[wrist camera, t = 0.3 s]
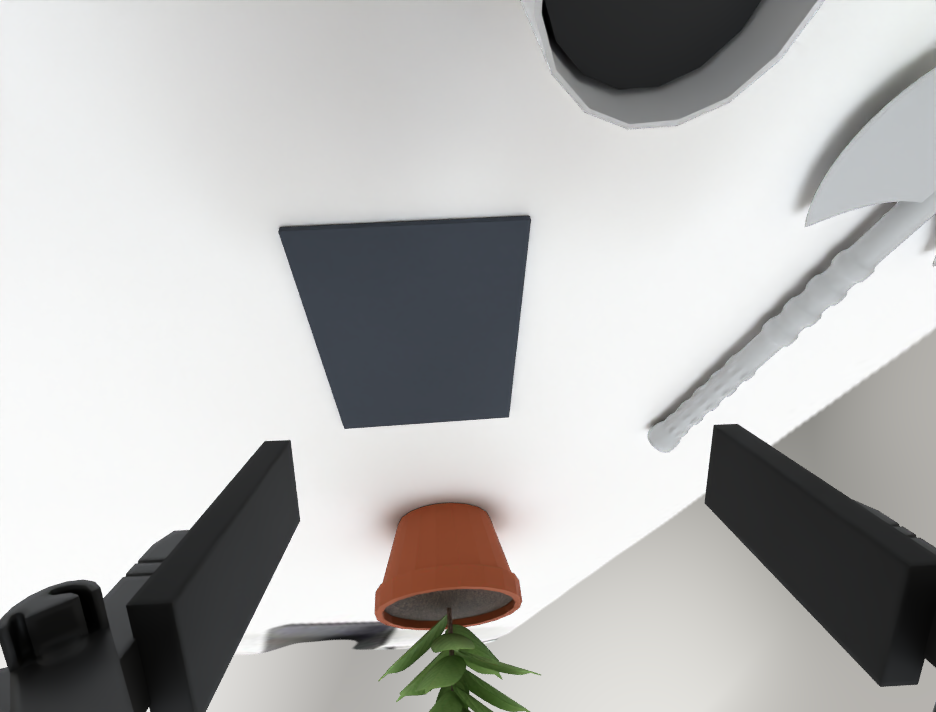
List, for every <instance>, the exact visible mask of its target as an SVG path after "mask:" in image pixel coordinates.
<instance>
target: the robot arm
mask: <svg viewBox="0 0 936 712" xmlns="http://www.w3.org/2000/svg"><path fill="white" fill-rule="evenodd" d="M705 504H706V505H707V506H708V507H709V508H710V509H711V510H712V511H713V512H714V513H715V514H716V515H717V516H718V517H719V519H720V520H721V521H722V522H723V523H724V524H725V525H726V526H727V527H728V528H729V529H730V530H731V531H732V532H733V533H734V534H735V535H736V536H737V537H738V538H739V539H740V541H741V542H742V543H743V544H744V545H745V546H746V547H747V548H748V549H749V550H750V551H751V552H752V553H753V554H754V555H755V556H756V557H757V558H758V559H759V560H760V561H761V563H762V564H763V565H764V566H765V567H766V568H767V569H768V570H769V571H770V572H771V573H772V574H773V575H774V576H775V577H776V578H777V579H778V580H779V581H780V582H781V583H782V584H783V586H784V587H785V588H786V589H787V590H788V591H789V592H790V593H791V594H792V595H793V596H794V597H795V598H796V599H797V600H798V601H799V602H800V603H801V604H802V605H803V606H804V607H805V608H806V609H807V611H808V612H810V614H811V615H812V616H813V617H814V618H815V619H816V620H817V621H818V622H819V623H820V624H821V625H822V626H823V627H824V628H825V629H826V630H827V631H828V633H829V634H830V635H831V636H832V637H833V638H834V639H835V640H836V641H837V642H838V643H839V644H840V645H841V646H842V647H843V648H844V649H845V650H846V651H847V652H848V653H849V654H850V656H851V657H852V658H853V659H854V660H855V661H856V662H857V663H858V664H859V665H860V666H861V667H862V668H863V669H864V670H865V671H866V672H867V673H868V674H869V675H870V676H871V677H872V679H874V681H876V683H877V684H878V685H879V686H880V687H884V686H900V685H917V684H918V682H919V678H920V674H921V670H922V666H923V663H924V659H925V658H926V659H927V660H928V661H929V662H930V663H931V664H932V665H933V666H935V667H936V548H935V547H934V546H932V545H931V544H929V543H928V542H926V541H925V540H923V539H921V538H917V537H916V535H915V534H914V533H912V532H911V531H909V530H908V529H906V528H904V527H900V526H899V524H898V523H897V522H895V521H894V520H892V519H890V518H889V517H887V516H886V515H884V514H882V513H881V512H880V511H878V510H876V509H873V508H871V507H869V506H866V505H864V504H862V503H859V502H857V501H855V500H852V499H850V498H849V497H847V496H846V495H844V494H843V493H841V492H840V491H838V490H837V489H835V488H834V487H832V486H831V485H829V484H828V483H826V482H825V481H823V480H822V479H820V478H819V477H817V476H816V475H814V474H813V473H811V472H809V471H808V470H806V469H805V468H803V467H802V466H800V465H799V464H797V463H796V462H794V461H793V460H791V459H789V458H788V457H787V456H785V455H784V454H782V453H781V452H779V451H778V450H776V449H775V448H773V447H772V446H770V445H769V444H767V443H766V442H764V441H762V440H761V439H759V438H758V437H756V436H755V435H753V434H752V433H750V432H749V431H747V430H746V429H744V428H743V427H741V426H740V425H738V424H726V425H714V428H713V436H712V445H711V453H710V462H709V470H708V479H707V487H706V496H705ZM299 522H300V516H299V508H298V499H297V491H296V482H295V474H294V466H293V457H292V449H291V440H286V441H265V442H264V443H263V444H262V445H261V446H260V447H259V449H258V450H257V451H256V452H255V453H254V455H253V456H252V457H251V458H250V459H249V460H248V462H247V463H246V464H245V465H244V466H243V468H242V469H241V470H240V471H239V472H238V473H237V475H236V476H235V477H234V478H233V479H232V481H231V482H230V483H229V484H228V485H227V486H226V488H225V489H224V490H223V491H222V492H221V494H220V495H219V496H218V497H217V498H216V499H215V501H214V502H213V503H212V504H211V505H210V507H209V508H208V509H207V510H206V511H205V512H204V514H203V515H202V516H201V517H200V518H199V520H198V521H197V522H196V523H195V524H194V525H193V527H192V528H191V529H190V530H182V531H173V532H172V533H170V534H169V535H167V536H166V537H164V538H163V539H161V540H160V541H158V542H156V543H155V544H153V545H152V546H151V547H150V549H149V550H148V551H147V552H146V553H145V554H144V555H143V556H142V557H141V558H140V559H139V560H138V564H135V565H134V566H133V567H132V568H131V569H130V570H129V571H128V572H127V573H126V577H123V578H122V579H121V580H120V581H119V582H118V583H117V584H116V585H115V586H114V588H113V589H112V590H111V591H110V592H109V593H108V594H107V595H106V596H105V597H104V598H103V596H102V592H101V588H100V587H99V586H98V585H97V584H96V583H95V582H93V581H88V580H76V581H68V582H64V583H61V584H57V585H54V586H51V587H48V588H46V589H43V590H41V591H39V592H37V593H35V594H33V595H31V596H29V597H27V598H26V599H24V600H23V601H21V602H20V603H18V604H17V605H15V606H14V607H12V608H11V609H10V610H9V611H8V612H7V613H6V614H5V615H4V616H3V617H2V618H1V619H0V644H1V647H2V650H3V654H4V657H5V660H6V663H7V666H8V667H6V668H2V669H0V712H146V711H147V709H148V707H149V708H150V712H206V710H207V708H208V706H209V704H210V702H211V700H212V698H213V696H214V694H215V692H216V690H217V688H218V686H219V684H220V682H221V679H222V678H223V676H224V673H225V671H226V669H227V667H228V665H229V663H230V661H231V659H232V657H233V655H234V653H235V651H236V649H237V647H238V645H239V643H240V641H241V639H242V637H243V635H244V633H245V631H246V629H247V627H248V625H249V623H250V621H251V619H252V617H253V615H254V613H255V611H256V609H257V607H258V605H259V603H260V601H261V599H262V597H263V595H264V593H265V591H266V588H267V586H268V584H269V582H270V580H271V578H272V576H273V574H274V572H275V570H276V568H277V566H278V564H279V562H280V560H281V558H282V556H283V554H284V552H285V550H286V548H287V546H288V544H289V542H290V540H291V538H292V536H293V534H294V532H295V530H296V528H297V526H298V524H299ZM933 712H936V702H935V706H934V709H933Z"/></svg>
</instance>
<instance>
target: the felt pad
mask: <svg viewBox="0 0 936 712" xmlns="http://www.w3.org/2000/svg"><path fill="white" fill-rule="evenodd" d="M530 223H531V219H530V216H516V217H495V218H473V219H451V220H430V221H408V222H386V223H365V224H343V225H321V226H300V227H280V228H279V231H278V232H279V235H280V238H281V241H282V244H283V247H284V250H285V253H286V256H287V259H288V262H289V265H290V268H291V271H292V274H293V277H294V280H295V283H296V286H297V289H298V292H299V295H300V298H301V301H302V303H303V306H304V309H305V312H306V315H307V318H308V321H309V324H310V327H311V330H312V333H313V336H314V339H315V342H316V345H317V348H318V351H319V354H320V357H321V360H322V363H323V366H324V369H325V372H326V375H327V378H328V381H329V384H330V387H331V390H332V393H333V396H334V399H335V402H336V405H337V408H338V411H339V414H340V417H341V420H342V423H343V426H344V429H349V428H364V427H378V426H392V425H406V424H420V423H434V422H448V421H462V420H477V419H491V418H505V417H509V411H510V402H511V393H512V384H513V375H514V366H515V357H516V348H517V340H518V331H519V322H520V313H521V304H522V295H523V286H524V277H525V268H526V259H527V250H528V241H529V232H530Z"/></svg>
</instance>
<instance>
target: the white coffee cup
mask: <svg viewBox="0 0 936 712" xmlns="http://www.w3.org/2000/svg"><path fill="white" fill-rule="evenodd" d="M520 1H521V3H522V6H523V8H524V10H525V13H526V15H527V17H528V20H529V22H530V24H531V27H532V29H533V31H534V34H535V36H536V39H537V41H538V43H539V46H540V48H541V50H542V53H543V55H544V57H545V60H546V62H547V64H548V67H549V69H550V71H551V74H552V75H553V76H554V78H555V79H556V80H557V81H558V82H559V83H560V85H561V86H562V87H563V88H564V89H565V90H566V92H567V93H568V94H569V95H570V96H571V97H572V98H573V100H574V101H575V102H576V103H577V104H578V105H579V107H580V108H581V109H582V110H583V111H584V112H585V113H587V114H590V115H592V116H595V117H597V118H600V119H603V120H605V121H608V122H610V123H613V124H615V125H618V126H620V127H623V128H625V129H639V128H654V127H668V126H678V125H680V124H682V123H685V122H687V121H689V120H691V119H693V118H696V117H698V116H700V115H702V114H705V113H707V112H709V111H711V110H714V109H716V108H718V107H720V106H723V105H725V104H727V103H729V102H731V101H732V100H733V99H734V98H735V97H737V96H738V95H739V94H740V93H741V92H743V91H744V90H745V89H746V88H747V87H749V86H750V85H751V84H752V83H753V82H755V81H756V80H757V79H758V78H759V77H761V76H762V75H763V74H764V73H765V72H767V71H768V70H769V69H770V68H771V67H773V66H774V65H775V64H776V63H777V62H779V61H780V60H781V59H782V58H783V56H784V55H785V53H786V52H787V51H788V49H789V48H790V47H791V45H792V44H793V43H794V41H795V40H796V39H797V37H798V36H799V35H800V33H801V32H802V31H803V29H804V28H805V27H806V25H807V24H808V23H809V21H810V20H811V19H812V17H813V16H814V14H815V13H816V12H817V10H818V9H819V8H820V6H821V5H822V4H823V2H824V1H825V0H520Z"/></svg>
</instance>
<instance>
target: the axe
mask: <svg viewBox="0 0 936 712" xmlns="http://www.w3.org/2000/svg"><path fill="white" fill-rule="evenodd" d="M888 202H898V203H897V204H896V205H895V206H893V207H892V208H891V209H890V210H889V211H888V212H887V213H886V214H885V215H884V216H883V217H882V218H881V219H880V220H879V221H878V222H876V223H875V224H874V225H873V226H872V227H871V228H870V229H869V230H868V231H867V232H866V233H865V234H864V235H863V236H862V237H861V238H859V239H858V240H857V241H856V242H855V243H854V244H853V245H852V246H851V247H849V248H848V249H846V250H842V251H841V252H840V253H838V254H837V255H836V256H835V257H834V258H833V259H832V261H831V265H830V266H829V267H828V268H827V270H825V271H824V272H823V273H821V274H818V275H816V276H814V277H813V278H812V279H811V280H810V281H809V282H808V283H807V285H806V289H805V290H804V291H803V292H802V293H801V294H800V295H798V296H795V297H792V298H791V299H790V300H789V301H788V302H787V303H786V304H785V305H784V307H783V311H782V312H781V313H780V314H779V315H777V316H776V317H772V318H770V319H769V320H768V321H767V322H766V323H765V324H764V325H763V326H762V330H761V331H760V333H759V334H757V335H756V336H755V337H754V338H753V339H752V340H751V341H750V342H749V343H748V344H747V345H746V346H745V347H744V348H743V349H742V350H740V351H739V352H738V353H737V354H734V355H732V356H731V357H730V358H729V359H728V360H727V362H726V364H725V365H724V366H723V367H722V368H721V369H720V370H718V371H716V372H714V373H713V374H712V375H711V376H710V378H709V380H708V381H707V382H706V383H705V384H704V385H703V386H700V387H699V388H697V389H696V390H695V392H694V394H693V395H692V397H691V398H689V399H688V400H685V401H684V402H683V403H682V404H681V405H680V407H679V408H678V409H677V411H676V412H675V413H672V414H670V415H669V416H668V417H667V418H666V420H665V421H662V422H659V423H657V424H656V425H654V426H653V427H652V428H651V429H650V430H649V432H648V440H649V442H650V443H651V445H652V446H653V447H654V448H655V449H657V450H658V451H661V452H670V451H671V450H673V449H674V448H675V447H676V446H677V445H678V444H679V442H680V440H681V437H683V436H684V435H686V434H687V433H688V430H689V429H690V428H691V427H692V426H693V425H696V424H698V423H699V422H701V421H702V420H703V417H704V416H705V415H706V414H707V413H708V412H709V411H713V410H714V409H716V408H717V407H718V406H719V403H720V402H721V401H722V400H723V399H724V398H725V397H728V396H730V395H732V394H733V393H734V392H735V391H736V389H737V387H738V386H739V385H740V384H741V383H742V382H744V381H747V380H749V379H750V378H751V377H752V376H753V375H754V374H755V372H756V370H757V369H758V368H759V367H761V366H762V365H763V364H764V363H765V362H766V361H767V360H769V359H770V358H771V357H772V356H773V355H774V354H775V353H777V352H778V351H779V350H780V349H781V348H783V347H786V346H789V345H790V344H792V343H793V342H794V341H795V340H796V339H797V338H798V334H799V333H800V332H801V331H802V330H803V329H804V328H806V327H810V326H812V325H813V324H815V323H816V322H817V321H818V320H819V319H820V318H821V315H822V313H823V312H824V311H825V310H826V309H827V308H828V307H830V306H833V305H836V304H838V303H839V302H840V301H842V300H843V299H844V298H845V297H846V295H847V291H848V290H849V289H850V288H851V287H852V286H853V285H855V284H856V283H859V282H863V281H864V280H865V279H867V278H868V277H869V276H870V275H871V274H872V273H873V272H874V269H875V267H876V266H877V265H878V264H879V263H880V262H881V261H882V260H883V259H884V258H885V257H886V256H888V255H889V254H890V253H891V252H892V251H893V250H894V249H896V248H897V247H898V246H899V245H900V244H901V243H902V242H904V241H905V240H906V239H907V238H908V237H909V236H910V235H912V234H913V233H914V232H915V231H916V230H917V229H918V228H920V227H921V226H922V225H923V224H924V223H925V222H926V221H928V220H929V219H930V218H931V217H932V216H933V215H934V214H936V67H935V68H933V69H932V70H930V71H929V72H927V73H926V74H925V75H923V76H922V77H920V78H919V79H918V80H916V81H915V82H914V83H912V84H911V85H910V86H909V87H907V88H906V89H905V90H903V91H902V92H901V93H900V94H899V95H897V96H896V97H895V98H894V99H893V100H891V101H890V102H889V103H888V104H887V105H886V106H885V107H883V108H882V109H881V110H880V111H879V112H878V113H877V114H876V115H875V116H874V117H873V118H872V119H871V120H870V121H869V122H868V123H867V124H866V125H865V126H864V127H863V128H862V129H861V130H860V131H859V132H858V133H857V134H856V135H855V137H854V138H853V139H852V140H851V141H850V143H849V144H848V145H847V146H846V147H845V148H844V150H843V151H842V152H841V154H840V155H839V156H838V158H837V159H836V160H835V162H834V163H833V164H832V166H831V167H830V169H829V170H828V172H827V174H826V175H825V177H824V178H823V180H822V182H821V184H820V185H819V187H818V189H817V191H816V193H815V195H814V198H813V200H812V202H811V205H810V208H809V211H808V214H807V217H806V223H805V227H807V226H810V225H813V224H816V223H818V222H821V221H823V220H826V219H828V218H831V217H833V216H836V215H839V214H842V213H845V212H848V211H851V210H855V209H858V208H862V207H866V206H870V205H875V204H881V203H888ZM934 266H936V256H935V259H934V262H933V267H934Z"/></svg>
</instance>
